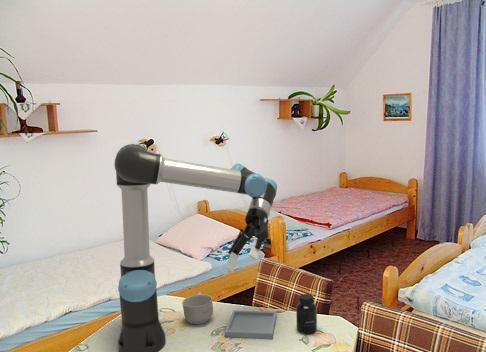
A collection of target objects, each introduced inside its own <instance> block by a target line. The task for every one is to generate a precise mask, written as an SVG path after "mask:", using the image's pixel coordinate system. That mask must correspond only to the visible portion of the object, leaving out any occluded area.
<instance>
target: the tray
mask: <svg viewBox="0 0 486 352" xmlns="http://www.w3.org/2000/svg"><path fill="white" fill-rule="evenodd" d="M277 314H278V313H277V311H263V310H261V311H260V310H232V312H231V315H230V317H229V320H228V322H227V324H226V327H225V329H224V331H223V333H224V334H223V335H224V338H229V339H231V338H232V339H255V340H258V339H259V340H273V339H274V333H275V328H276V322H277V319H278V315H277Z"/></svg>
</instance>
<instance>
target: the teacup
mask: <svg viewBox="0 0 486 352" xmlns="http://www.w3.org/2000/svg"><path fill="white" fill-rule="evenodd" d="M181 304H182V308H183V315H184V317H185V320H187V322H189V323H191V324H194V325H202V324H205V323H207V322H208V321H209V320H210V319H211V318H212V316H213V312H214V307H213V297H212V296H211V295H210V294H204V293H202V292H200V291H199V292H197V294H192V295H189V296H186V297H185V298H184V299H183V300H182V302H181Z"/></svg>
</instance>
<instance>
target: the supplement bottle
mask: <svg viewBox="0 0 486 352" xmlns="http://www.w3.org/2000/svg"><path fill="white" fill-rule="evenodd" d="M314 298H315V297H314V295H312V294H310V293H302V294H300V295H299V297H298V303H297V304H296V305H295V306H296V317H295V318H296V331H297V333H299V334H302V335H306V336H308V334H309V335H313V334H315V333H316V332H317V330H318V315H317V314H318V309H317V308H318V307H317V305H316V304H315V299H314Z"/></svg>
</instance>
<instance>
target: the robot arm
mask: <svg viewBox="0 0 486 352" xmlns="http://www.w3.org/2000/svg"><path fill="white" fill-rule="evenodd" d="M114 170H115V174H116V175H115V176H116V178H115V180H116V186H117V187H118V188H119V189H120V190H121V205H122V206H121V207H122V209H121V210H122V228H123V230H122V231H123V232H122V233H123V252H124V253H123V254H124V257H123V258H122V260H120V264H119V266H120V279H119V281H118V288H117V289H118V295H119V303H120V317H121V329H120V333H119V337H118V340H117V348H118V351H119V352H159V351H160V350H162V349H163V348H164V347H165V345H166V343H167V342H166V341H167V339H166V333H165V331H164V328H163V326H162V324H161V321H160V318H159V305H158V295H157V293H158V291H157V286H158V285H157V280H156V272H155V270H156V269H155V259H154V257H153V256H151V254H150V253H151V252H150V228H149V227H150V226H149V224H150V223H149V199H148V198H149V197H148V188H149V187H150V186H151V185H158V184H160V183H165V184H166V183H167V184H173V185H180V186H187V187H193V188H202V189H208V190H214V191H222V192H228V193H236V194H240V195H241V194H242V195H247V196H249V197H250V198H252V199H251V200H250V201H251V202H250V203H249V206H248V209H247V213H246V215H245V218H244V222H245V223H246V226H245V227H244V229H239V232H238V235H237V236H236V238H235V240H234V241H233V243H232V244H231V247H230V248H229V250H228V251H227V254H229V257H228V261H227V263H226V266H225V269H226V270H227V271H228V272H230V273H233V272H234V270H235V267H236V265H237V261H238V258H239V254H240V252H241V251H242V250H243V248H244V247H245V245H247V243H248V242H249V241H251V239H252V238H253V237H254V236H255V238H254V239H253V242H252V245H251V248H250V251H249V254H248V256H249V257H250V258H252V259H253V260H255V261H257V260H258V257H259V253H260V252H261V247H262V245H263V242H264V241H266V240H265V239H268V238H269V234H270V233H269V225H268V224H269V221H270V220H269V217H270V212H271V209H272V207H273V204H274V200H275V199H276V196H277V192H278V191H277V190H278V185H277V182H276V181H275V180H273V179H272V178H269V177H264V176H262V175H261V174H260V173H256V172H254V171H252V170H249V168H247V167H246V166H244V165H243V164H241V163H239V162H237V163H235V164H234V165H232V167H230V168H225V167H220V166H213V165H208V164H207V165H206V164H202V163H194V162H191V161H190V162H188V161H184V160H177V159H170V158H165V157H164V156H163V154H161V153H155V152H151V151H148V149H147V148H145V147H144V146H142V145H140V144H137V143H135V144H134V143H131V144H126V145H123V146H122V147H121V148H120V149H119V150H118V151H117V153H116V155H115V158H114Z"/></svg>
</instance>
